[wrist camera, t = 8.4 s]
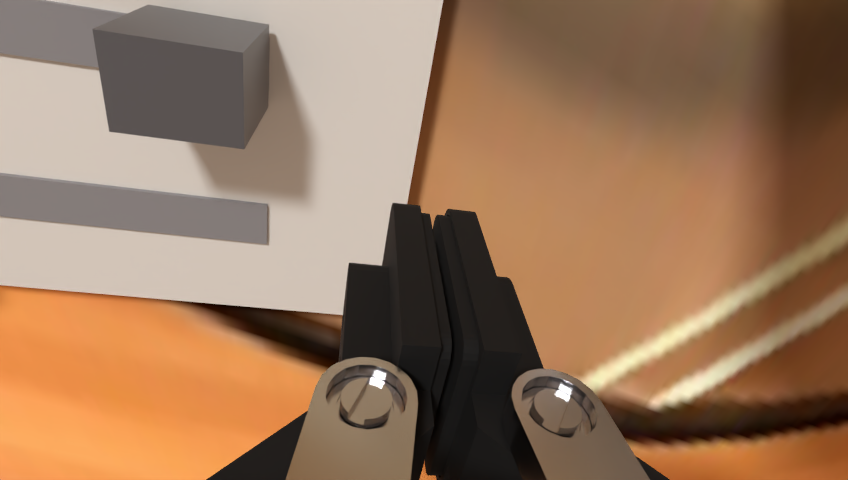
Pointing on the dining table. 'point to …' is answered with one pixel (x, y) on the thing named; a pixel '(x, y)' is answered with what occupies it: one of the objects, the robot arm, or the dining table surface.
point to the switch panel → (212, 158)
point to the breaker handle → (184, 75)
